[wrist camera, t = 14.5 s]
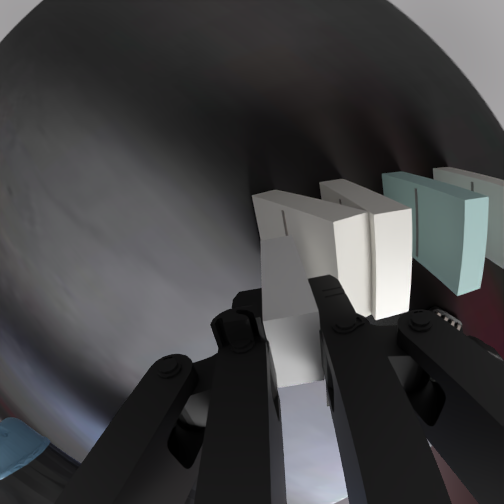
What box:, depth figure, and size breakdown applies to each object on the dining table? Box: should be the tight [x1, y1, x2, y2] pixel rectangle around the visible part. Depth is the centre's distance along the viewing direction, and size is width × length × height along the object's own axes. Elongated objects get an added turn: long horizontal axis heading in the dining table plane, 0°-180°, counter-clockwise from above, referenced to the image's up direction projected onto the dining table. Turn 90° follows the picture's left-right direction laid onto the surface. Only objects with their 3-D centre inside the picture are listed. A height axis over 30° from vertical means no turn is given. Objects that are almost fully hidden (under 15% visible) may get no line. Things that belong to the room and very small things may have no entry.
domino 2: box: [319, 179, 412, 320], centre depth 16 cm, size 2×5×10 cm, turn 11°
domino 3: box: [382, 171, 489, 296], centre depth 15 cm, size 2×5×10 cm, turn 11°
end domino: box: [433, 167, 504, 269], centre depth 15 cm, size 2×5×10 cm, turn 11°
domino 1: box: [252, 190, 372, 317], centre depth 16 cm, size 2×5×10 cm, turn 12°
